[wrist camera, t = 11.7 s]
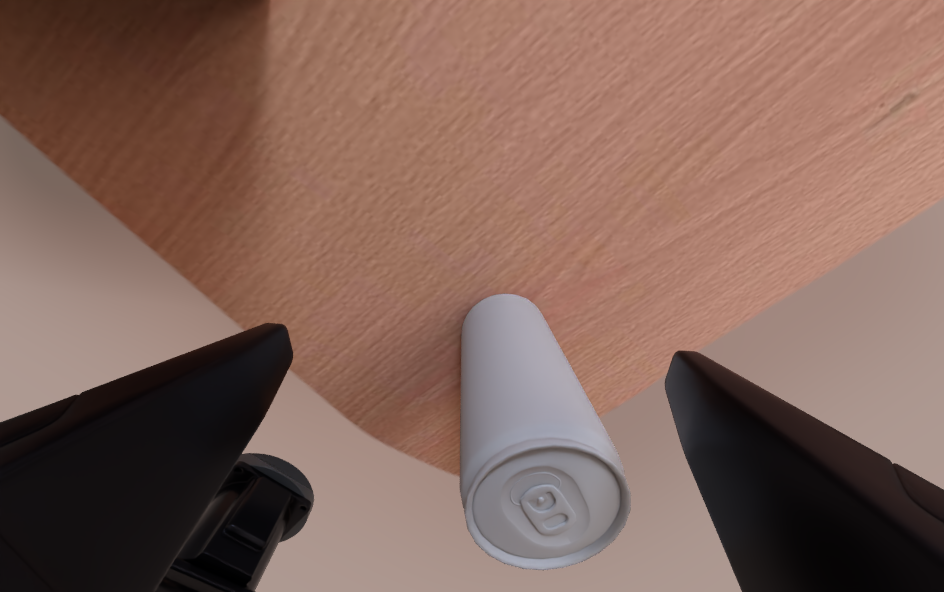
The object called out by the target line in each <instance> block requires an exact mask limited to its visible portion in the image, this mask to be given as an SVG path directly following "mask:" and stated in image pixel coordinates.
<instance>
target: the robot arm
mask: <svg viewBox="0 0 944 592" xmlns="http://www.w3.org/2000/svg"><path fill="white" fill-rule="evenodd" d="M292 360H293V350H292V346H291V342H290V338H289V334H288V330H287V328H286V326H285V325H283V324H275V323H265V324H262V325H260V326H257V327H254V328H252V329H249V330H246V331H244V332H241V333H238V334H236V335H233V336H230V337H228V338H225V339H223V340H220V341H217V342H215V343H212V344H209V345H207V346H204V347H201V348H199V349H196V350H193V351H191V352H188V353H185V354H183V355H180V356H177V357H175V358H172V359H169V360H167V361H164V362H161V363H159V364H156V365H153V366H151V367H148V368H146V369H143V370H140V371H137V372H135V373H132V374H129V375H127V376H124V377H122V378H119V379H116V380H114V381H111V382H109V383H106V384H103V385H100V386H98V387H95V388H92V389H90V390H87V391H84V392H82V393H81V394H80V395H73V396H71V397H68V398H66V399H63V400H60V401H58V402H55V403H52V404H50V405H47V406H44V407H42V408H39V409H36V410H33V411H31V412H28V413H25V414H23V415H19V416H17V417H14V418H12V419H9V420H6V421H3V422H0V592H255V589H256V587H257V585H258V583H259V581H260V579H261V577H262V575H263V573H264V571H265V569H266V567H267V565H268V563H269V561H270V559H271V557H272V555H273V553H274V551H275V549H276V547H277V545H278V543H279V541H280V540H281V539H282V538H283V537H284V536H285V535H286V534H287V533H288V532H289V531H290V530H291V529H292V528H293V527H294V526H295V525H296V524H297V523H298V522H299V521H300V520H301V519H302V518H303V517H304V516H305V515H306V514H307V513H308V512H309V510H310V508H311V506H312V503H311V502H310V501H309V500H308V499H306V498H304V497H303V496H301V495H299V494H298V493H296V492H294V491H293V490H291V489H289V488H288V487H286V486H284V485H282V484H281V483H279V482H277V481H276V480H274V479H272V478H271V477H269V476H267V475H266V474H264V473H262V472H261V471H259V470H257V469H256V468H254V467H252V466H251V465H249V464H247V463H245V462H243V461H238V462H237V460H238V459H239V457H240V455H241V454H242V452H243V450H244V449H245V448H246V446H247V444H248V443H249V441H250V440H251V438H252V436H253V435H254V433H255V432H256V430H257V429H258V427H259V425H260V423H261V422H262V420H263V419H264V417H265V415H266V413H267V411H268V409H269V407H270V405H271V403H272V401H273V399H274V397H275V395H276V393H277V391H278V389H279V387H280V385H281V383H282V381H283V379H284V377H285V375H286V373H287V371H288V369H289V367H290V365H291V363H292ZM665 390H666V394H667V398H668V401H669V404H670V408H671V411H672V415H673V418H674V421H675V425H676V428H677V431H678V435H679V438H680V442H681V444H682V447H683V451H684V454H685V456H686V459H687V461H688V464H689V466H690V469H691V471H692V473H693V476H694V478H695V480H696V483H697V485H698V488H699V490H700V493H701V495H702V497H703V500H704V502H705V504H706V507H707V509H708V512H709V514H710V516H711V519H712V521H713V524H714V526H715V528H716V531H717V533H718V535H719V538H720V540H721V543H722V545H723V547H724V550H725V552H726V554H727V557H728V559H729V561H730V564H731V566H732V569H733V571H734V574H735V576H736V578H737V581H738V583H739V586H740V588H741V590H742V592H944V490H943V489H941V488H940V487H938V486H936V485H934V484H932V483H930V482H928V481H927V480H925V479H923V478H921V477H919V476H918V475H916V474H914V473H912V472H911V471H909V470H907V469H905V468H904V467H902V466H900V465H898V464H895V463H894V464H892V462H891V461H890V460H889V459H887V458H886V457H883V456H882V455H880V454H878V453H876V452H875V451H873V450H871V449H870V448H868V447H866V446H864V445H862V444H861V443H858V442H857V441H855V440H853V439H852V438H850V437H848V436H846V435H845V434H843V433H841V432H839V431H837V430H836V429H834V428H832V427H830V426H828V425H827V424H824V423H823V422H821V421H819V420H818V419H816V418H814V417H812V416H811V415H809V414H807V413H805V412H804V411H802V410H800V409H798V408H796V407H795V406H793V405H791V404H789V403H787V402H785V401H784V400H782V399H780V398H779V397H777V396H775V395H773V394H771V393H770V392H768V391H766V390H764V389H762V388H761V387H759V386H757V385H755V384H754V383H752V382H750V381H748V380H746V379H745V378H743V377H741V376H739V375H738V374H736V373H734V372H732V371H730V370H729V369H727V368H725V367H723V366H722V365H720V364H718V363H716V362H714V361H713V360H711V359H709V358H707V357H706V356H704V355H702V354H700V353H698V352H695V351H677V352H676V353H675V354H674V356H673V358H672V361H671V364H670V367H669V370H668V373H667V376H666V379H665Z"/></svg>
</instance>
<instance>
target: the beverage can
mask: <svg viewBox="0 0 944 592" xmlns="http://www.w3.org/2000/svg"><path fill="white" fill-rule="evenodd" d="M460 493H461V498H462V504H463V508H464V512H465V517H466V523H467V528H468V530H469V532H470V534H471V536H472V537H473V539H474V541H475V543H476V544H477V545H478V546H479V547H480V548H481V549H482V550H484V551H485V552H486V553H487V554H488V555H489V556H491V557H493V558H495V559H497V560H499V561H501V562H502V563H504V564H507V565H511V566H515V567H519V568H522V569H534V570H548V569H557V568H564V567H567V566H570V565H574V564H577V563H580V562H583V561H585V560H587V559H589V558H591V557H592V556H594V555H596V554H598V553H600V552H601V551H602V550H603V549H605V548H606V547H607V546H608V545H609V544H610V543H612V542H613V541H614V540H615V538H616V537H617V536H618V535H619V533H620V532H621V530H622V529H623V528H624V526H625V524H626V521H627V518H628V515H629V513H630V506H631V505H630V503H631V493H630V490H629V487H628V484H627V481H626V478H625V476H624V469H623V466H622V463H621V461H620V458H619V455H618V453H617V451H616V448H615V447H614V445H613V443H612V441H611V439H610V438H609V436H608V434H607V432H606V430H605V428H604V427H603V425H602V423H601V421H600V419H599V417H598V415H597V414H596V412H595V410H594V408H593V406H592V404H591V403H590V401H589V399H588V397H587V395H586V393H585V392H584V390H583V388H582V386H581V384H580V382H579V381H578V379H577V377H576V375H575V373H574V371H573V370H572V368H571V366H570V364H569V362H568V360H567V359H566V357H565V355H564V353H563V351H562V350H561V348H560V346H559V344H558V342H557V341H556V339H555V337H554V335H553V333H552V332H551V330H550V328H549V326H548V324H547V322H546V321H545V319H544V317H543V315H542V313H541V312H540V311H539V309H538V308H537V307H536V305H534V304H533V303H532V302H530V301H529V300H528V299H526V298H523V297H521V296H518V295H513V294H498V295H493V296H490V297H488V298H485V299H483V300H481V301H480V302H479V303H477V304H476V305H475V306H474V307H473V308H472V309H471V310H470V311H469V313H468V314H467V316H466V318H465V320H464V322H463V326H462V333H461V412H460Z"/></svg>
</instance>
